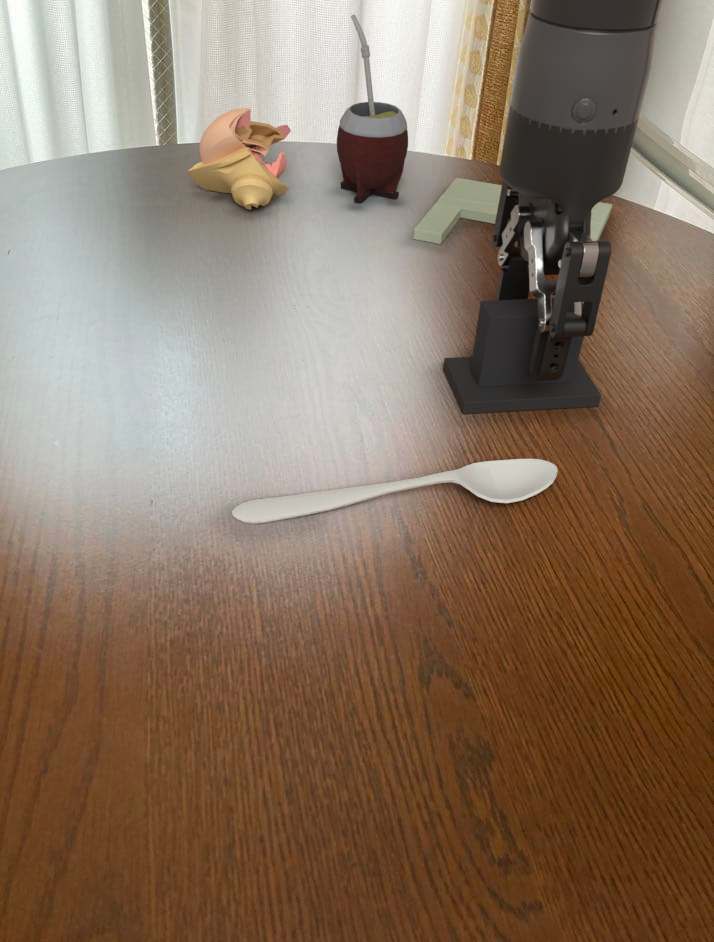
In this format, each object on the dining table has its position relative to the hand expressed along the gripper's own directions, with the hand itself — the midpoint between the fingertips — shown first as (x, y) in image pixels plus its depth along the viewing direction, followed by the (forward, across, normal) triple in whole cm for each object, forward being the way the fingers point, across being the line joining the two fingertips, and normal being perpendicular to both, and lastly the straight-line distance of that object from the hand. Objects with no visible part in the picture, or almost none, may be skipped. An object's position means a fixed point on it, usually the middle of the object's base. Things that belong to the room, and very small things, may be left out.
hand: (525, 345), depth 65 cm
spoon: (+4, -12, +11) cm, 17 cm away
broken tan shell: (+4, +37, +18) cm, 41 cm away
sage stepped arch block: (+3, +28, -8) cm, 29 cm away
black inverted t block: (+4, 0, 0) cm, 4 cm away
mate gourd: (+4, +38, +5) cm, 38 cm away
